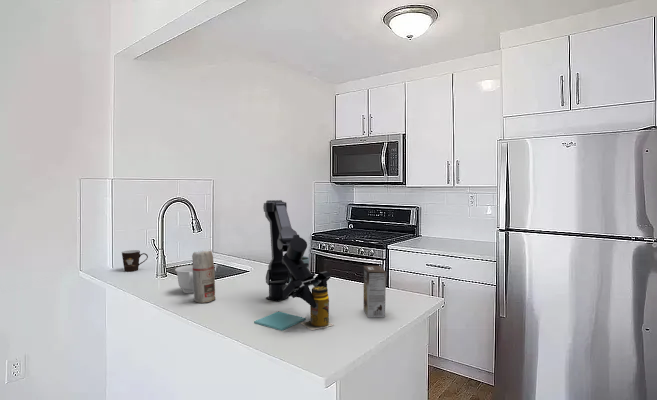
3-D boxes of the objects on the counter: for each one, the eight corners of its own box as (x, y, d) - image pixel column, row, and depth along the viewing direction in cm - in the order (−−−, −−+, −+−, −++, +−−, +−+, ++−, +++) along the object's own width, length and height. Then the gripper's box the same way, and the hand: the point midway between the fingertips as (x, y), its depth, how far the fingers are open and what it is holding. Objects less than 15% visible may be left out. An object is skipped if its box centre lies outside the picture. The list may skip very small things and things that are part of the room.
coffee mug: (118, 272, 204) (117, 252, 204) (129, 268, 212) (128, 249, 212) (138, 272, 202) (138, 253, 202) (149, 269, 211) (148, 250, 210)
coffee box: (362, 309, 145) (362, 265, 144) (380, 308, 145) (380, 265, 145) (367, 317, 136) (367, 271, 135) (385, 317, 136) (386, 270, 136)
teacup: (175, 298, 158) (174, 273, 157) (175, 289, 171) (174, 266, 171) (207, 295, 162) (206, 271, 162) (204, 286, 176) (203, 264, 175)
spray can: (194, 304, 150) (194, 252, 149) (191, 299, 157) (190, 249, 156) (217, 301, 154) (216, 250, 153) (213, 296, 161) (212, 247, 160)
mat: (254, 323, 131) (254, 321, 131) (278, 313, 141) (278, 311, 141) (281, 330, 124) (281, 328, 124) (305, 319, 134) (305, 317, 134)
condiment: (334, 325, 128) (334, 288, 128) (311, 331, 124) (311, 293, 123) (321, 319, 134) (321, 284, 134) (300, 324, 130) (300, 287, 129)
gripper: (303, 275, 146) (326, 311, 140) (265, 286, 132) (289, 326, 125) (319, 256, 141) (344, 293, 134) (281, 265, 126) (307, 306, 120)
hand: (321, 304), depth 129 cm, fingers closed on condiment, 6 cm apart
